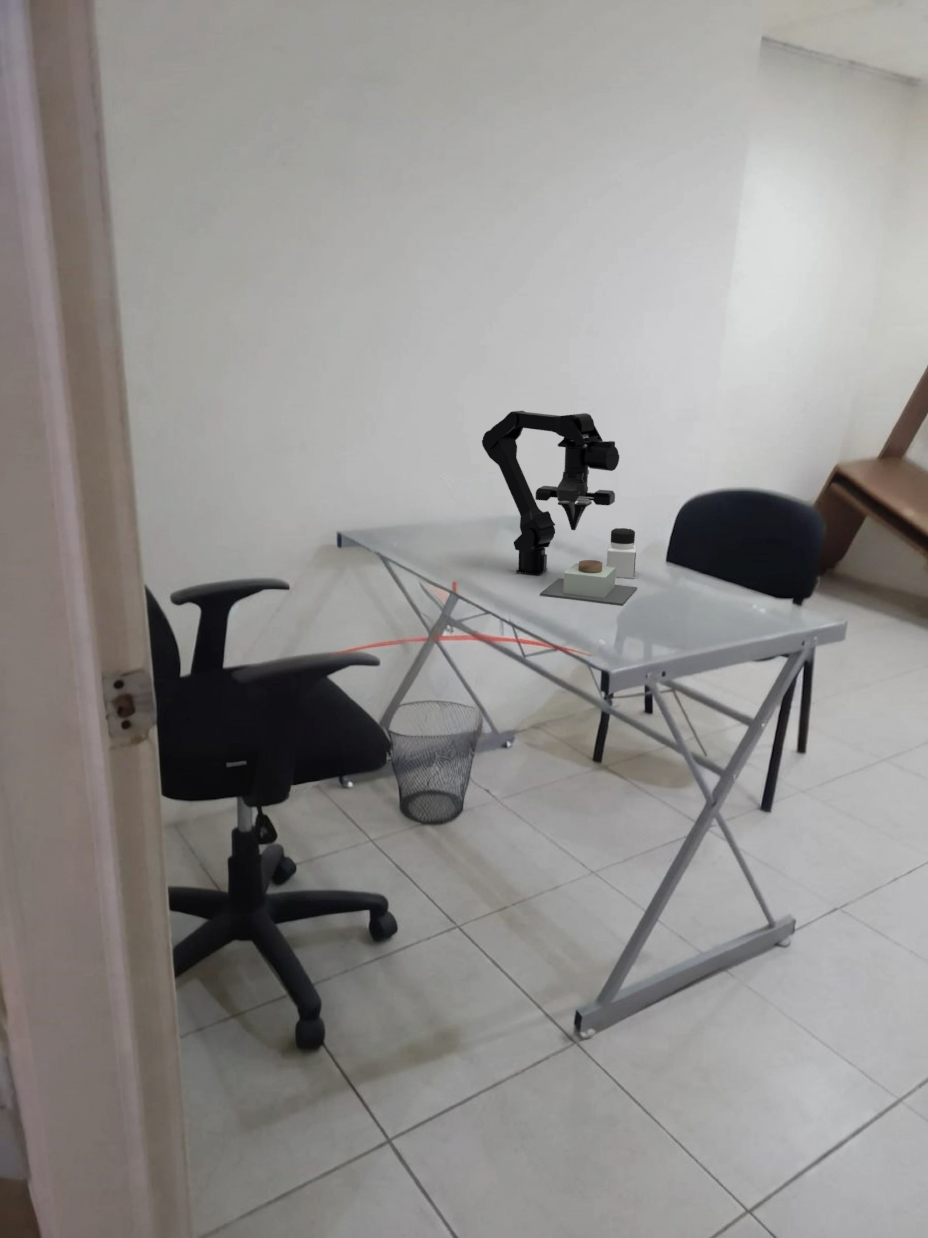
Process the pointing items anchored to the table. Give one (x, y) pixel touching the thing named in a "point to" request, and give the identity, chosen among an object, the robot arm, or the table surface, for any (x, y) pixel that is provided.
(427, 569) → the table surface
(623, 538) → the medicine bottle
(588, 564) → the plunger
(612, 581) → the press base
